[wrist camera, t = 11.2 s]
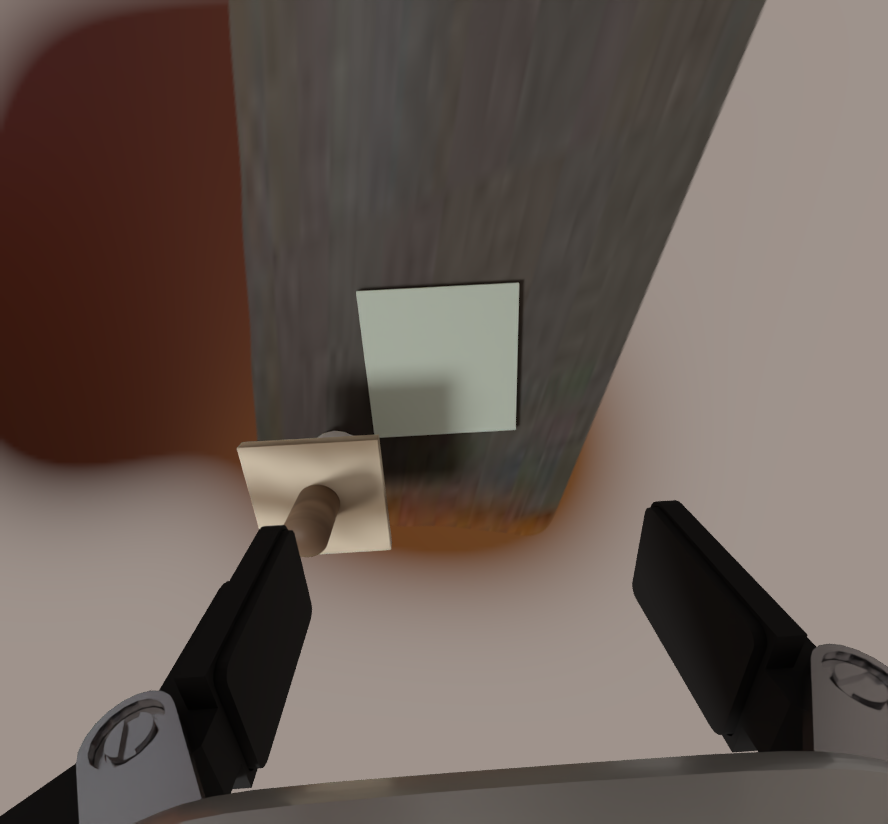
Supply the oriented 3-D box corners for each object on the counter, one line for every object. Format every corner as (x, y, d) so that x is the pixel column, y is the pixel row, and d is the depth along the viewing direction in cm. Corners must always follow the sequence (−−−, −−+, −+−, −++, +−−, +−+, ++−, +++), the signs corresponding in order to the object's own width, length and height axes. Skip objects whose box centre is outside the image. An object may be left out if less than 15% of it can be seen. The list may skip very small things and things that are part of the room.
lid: (242, 442, 33) (208, 479, 28) (378, 434, 33) (370, 469, 28) (270, 549, 37) (246, 598, 32) (391, 542, 37) (386, 589, 32)
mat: (357, 290, 35) (356, 291, 35) (518, 282, 35) (519, 282, 35) (375, 435, 41) (374, 437, 40) (514, 427, 41) (515, 429, 40)
